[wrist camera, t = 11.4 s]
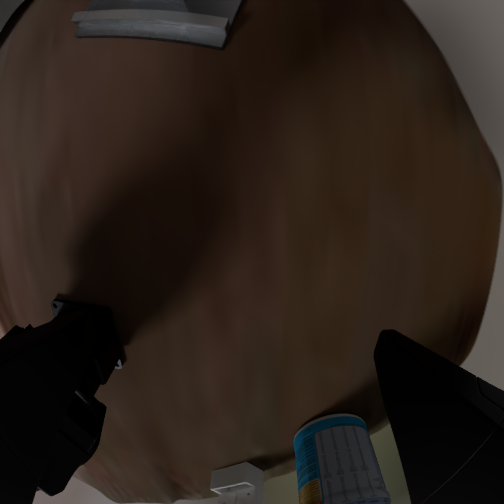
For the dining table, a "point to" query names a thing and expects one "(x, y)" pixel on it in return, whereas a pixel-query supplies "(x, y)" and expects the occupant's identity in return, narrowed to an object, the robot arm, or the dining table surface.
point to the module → (172, 0)
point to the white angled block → (239, 484)
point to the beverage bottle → (338, 463)
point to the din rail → (160, 21)
